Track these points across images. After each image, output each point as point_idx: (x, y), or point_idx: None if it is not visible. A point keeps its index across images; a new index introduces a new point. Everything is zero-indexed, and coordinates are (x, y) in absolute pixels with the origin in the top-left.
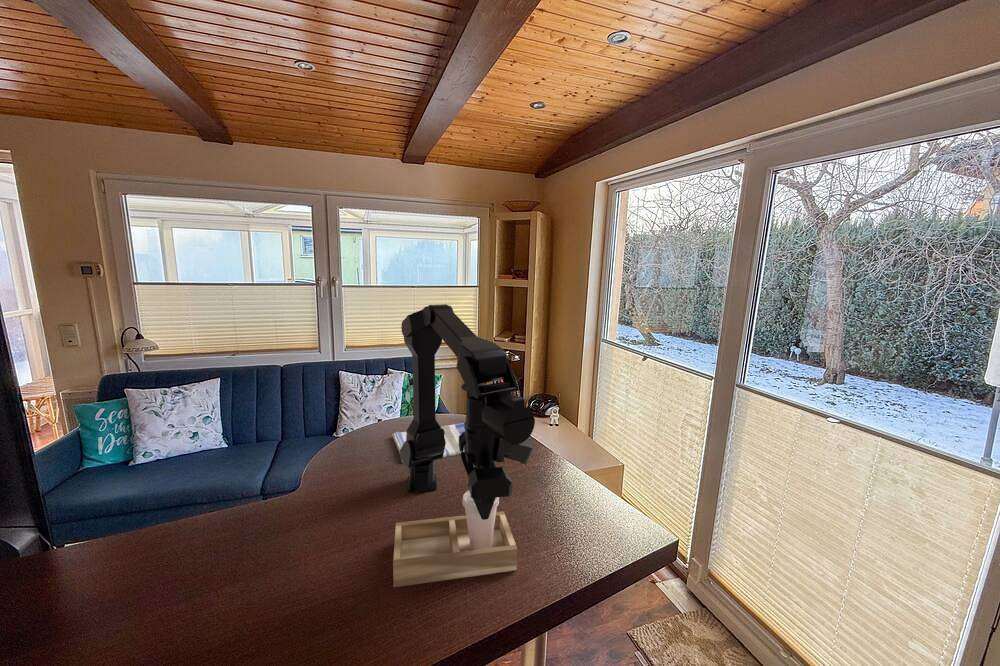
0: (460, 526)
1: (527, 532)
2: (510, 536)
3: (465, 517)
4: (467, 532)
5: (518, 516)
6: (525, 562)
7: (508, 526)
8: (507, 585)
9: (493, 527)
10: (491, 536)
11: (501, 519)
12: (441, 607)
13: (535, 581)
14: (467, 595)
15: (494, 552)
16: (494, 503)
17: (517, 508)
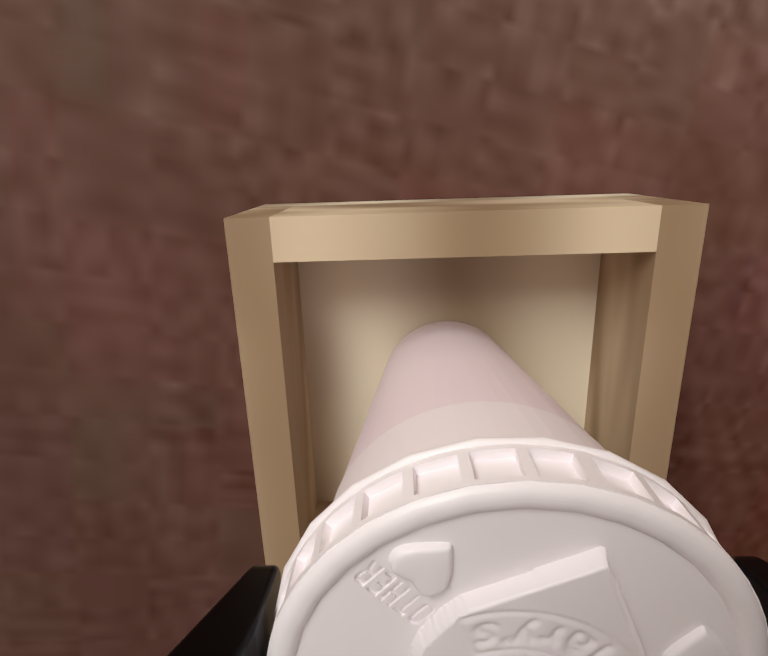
0: (307, 501)
1: (302, 30)
2: (559, 228)
3: (282, 505)
4: (311, 438)
5: (114, 56)
6: (580, 122)
7: (433, 218)
8: (714, 267)
9: (524, 375)
10: (515, 363)
11: (336, 259)
12: (730, 554)
13: (742, 98)
14: (706, 456)
15: (682, 369)
16: (740, 569)
17: (11, 40)
